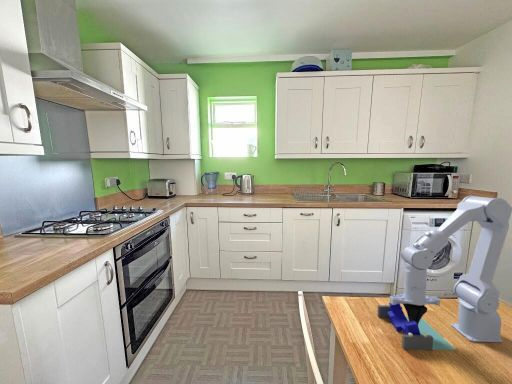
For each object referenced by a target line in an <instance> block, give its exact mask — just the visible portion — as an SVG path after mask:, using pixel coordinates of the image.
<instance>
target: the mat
mask: <svg viewBox="0 0 512 384" xmlns="http://www.w3.org/2000/svg"><path fill="white" fill-rule="evenodd" d="M406 318H407V320H408V321H409V319H408V316H406ZM418 327H419V331H420V334H421V335H423V333H425V334H427V335H431V336H432V337H433V350H434V351H436V350H439V351H443V350H444V351H457V349H456V348H455V347H454V346H452V344H450V342H448V341H447V340H446V339H445V338H444V337H443V336H442V335H441V334H439V332H438V331H436V330H435V329H434V327H432V326H431V325H430V324H429V323H428V322H427V320H425V319H424V318H423V317H422V318H421V319H420V322H419V324H418Z"/></svg>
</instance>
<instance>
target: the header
mask: <svg viewBox="0 0 512 384" xmlns="http://www.w3.org/2000/svg"><path fill="white" fill-rule="evenodd" d="M401 308H402V309H403V306H401ZM388 311H391V308H390V305H386V303H382V305H381V304H377V316H376V317H378V318H383V319H384V318H385V319H389V317H388V314H387V312H388ZM401 338H402V340H401V348H402V349H403V350H404V351H426V352H427V351H428V352H429V351H430V352H431V351H433V350H434V349H433V337H432V336H431V335H427V334H425V333H423V335H413V334H412V333H409V335H407V334H402V337H401Z"/></svg>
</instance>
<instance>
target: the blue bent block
mask: <svg viewBox="0 0 512 384" xmlns="http://www.w3.org/2000/svg"><path fill="white" fill-rule="evenodd" d="M388 304H389V305H390V308H391V311H388V312H387V314H388V317H389V318H388V320H389V321H390V322H391V325H392V326H393V327H394V329H395V330H396V332H403V333H404V334H407V335H409V333H412V334H413V335H421V334H420V331H419V327H418V324H417V323H416V322H415V321H410V322H409V321H408V320H407V318H406V317H407V316H406V315H405V312H404V310H403V307H402V304H396V305H393V304H392V303H391V302H389V303H388ZM401 307H402V308H401Z"/></svg>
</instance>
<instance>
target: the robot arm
mask: <svg viewBox="0 0 512 384" xmlns="http://www.w3.org/2000/svg"><path fill="white" fill-rule="evenodd" d="M511 214H512V206H511V205H510V203H508V201H507V200H505V199H504V198H501V197H496V198H495V197H486V196H476V195H468V196H465V197H464V198H463V199H462V200H461V201H460V202H458V203H457V208H456V210H454V211H453V212H452V214H450V216H449V217H448V218H446V220H445V221H443V223H442V224H441V225H440V226H439V227H438V228H437V229H431V230H428V231H425V232H424V234H423V236H422V237H421V238H420V239H418V240H417V241H416V242H414V243H412V245H410V246H409V245H408V246H406V247H405V248H404V249H403V251H402V252H401V253H400V256H401V260H403V262H404V263H403V264H404V278H403V279H404V282H403V283H404V285H403V293H401V294H396V295H389V303H392V304H393V305H396V304H400V305H403V307H404V309H405V312H406V314H407V317H408V319H409V322H410V321H415V322H416V323H417V324H419V322H420V319H421V318H422V319H423V316H424V315H425V314H426V313H427V312H428V307H427V305H435V306H440V305H441V300H440V298H438V297H437V296H431V295H426V293H427V276H428V275H427V274H428V273H427V270H428V268H429V267H431V266H432V265H433V263H434V262H433V260H434V258H435V256H436V255H437V254H438V253H439V252H440V251H441V250H443V249H444V248H445V247H446V246H447V245H448V244H449V237H451V236H452V235H454V234H455V233H456V232H458V231H459V230H461V228H463V227H464V226H466V225H467V224H468V223H470V222H477V223H478V224H479V225H480V227H481V230H480V233H479V237H478V240H477V242H476V246H475V249H474V253H473V257H472V260H471V262H470V266H469V269H468V273H465V274H461V275H460V276H459V278H458V281H457V282H456V283H455V284H454V285H453V293H454V295H455V296H456V297H457V301H458V316H457V323H455V322H453V323H452V322H450V327H452V328H454V329H455V330H456V331H458V333H460V335H462V336H464V337H465V339H467V340H468V341H469V342H481V343H503V342H504V341H503V339H502V338H501V331H502V330H501V328H502V320H501V319H502V318H501V316H500V314H499V313H498V311H497V310H498V309H499V307H500V299H499V297H500V290H499V289H498V288H497V287H496V285H495V284H494V282H493V280H494V277H495V276H494V275H495V273H496V270H497V267H498V263H499V260H500V256H501V254H502V251H503V248H504V244H505V242H506V241H505V240H506V237H507V235H508V232H509V228H510V218H511Z"/></svg>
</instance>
